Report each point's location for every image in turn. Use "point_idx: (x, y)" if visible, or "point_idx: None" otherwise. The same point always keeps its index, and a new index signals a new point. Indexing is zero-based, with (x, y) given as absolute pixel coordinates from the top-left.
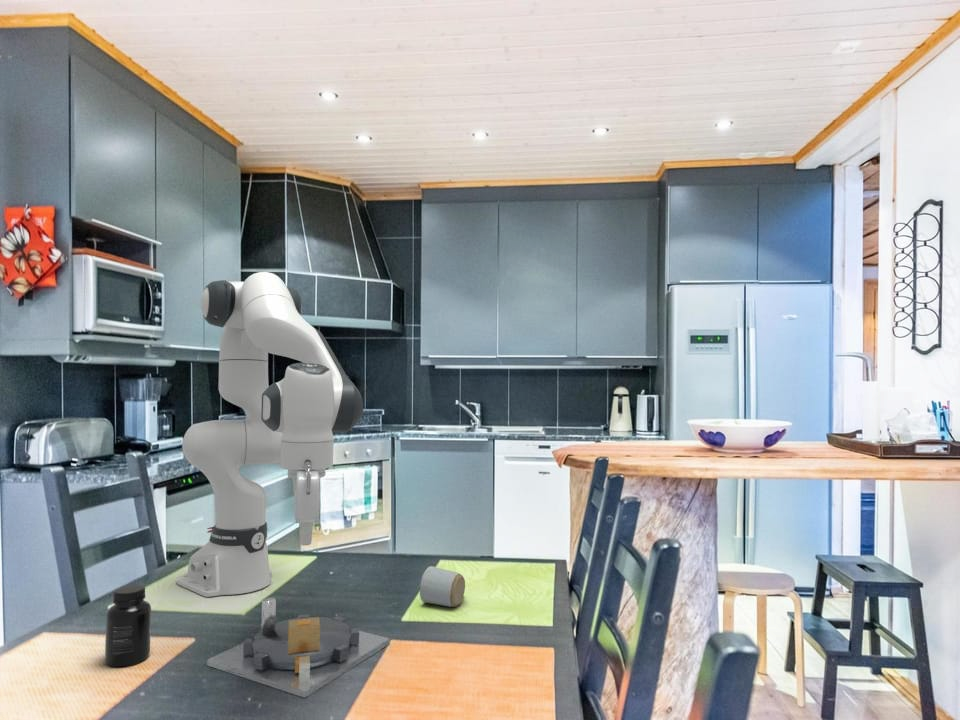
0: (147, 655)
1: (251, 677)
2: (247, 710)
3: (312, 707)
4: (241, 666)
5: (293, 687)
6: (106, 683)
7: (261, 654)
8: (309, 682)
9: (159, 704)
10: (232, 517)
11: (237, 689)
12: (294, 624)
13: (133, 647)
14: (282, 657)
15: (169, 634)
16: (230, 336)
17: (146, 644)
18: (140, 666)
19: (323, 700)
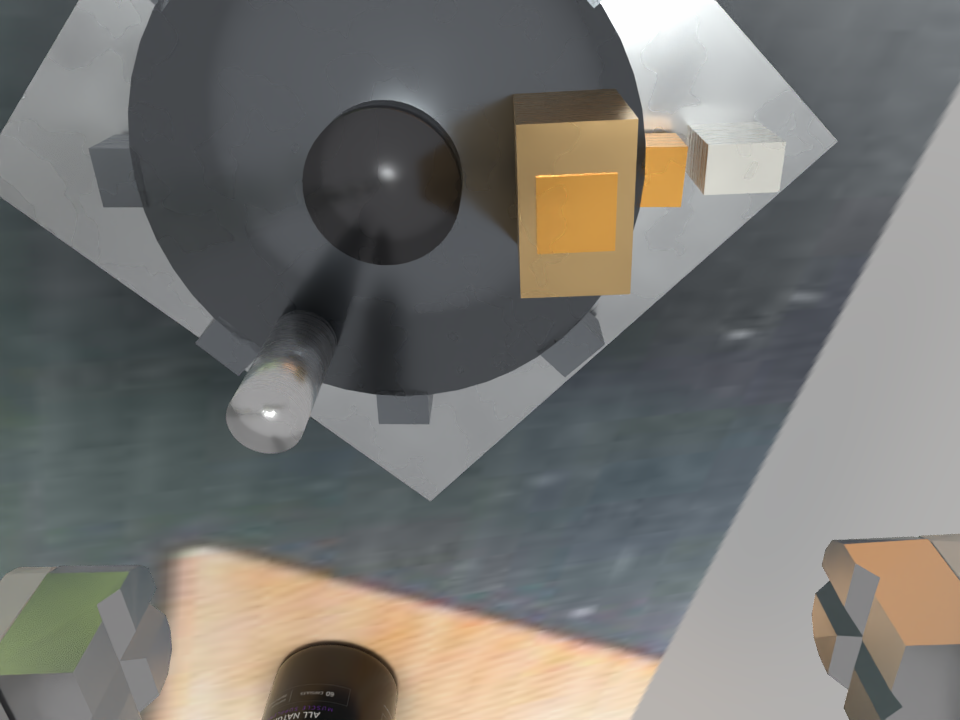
0: (345, 650)
1: None
2: (823, 333)
3: (919, 100)
4: (520, 391)
5: (781, 189)
6: (490, 692)
7: (566, 349)
8: (765, 121)
9: (669, 565)
10: None
11: (651, 378)
12: (593, 266)
13: (381, 713)
14: None
15: None
16: None
17: (345, 685)
18: (395, 646)
19: (882, 52)
